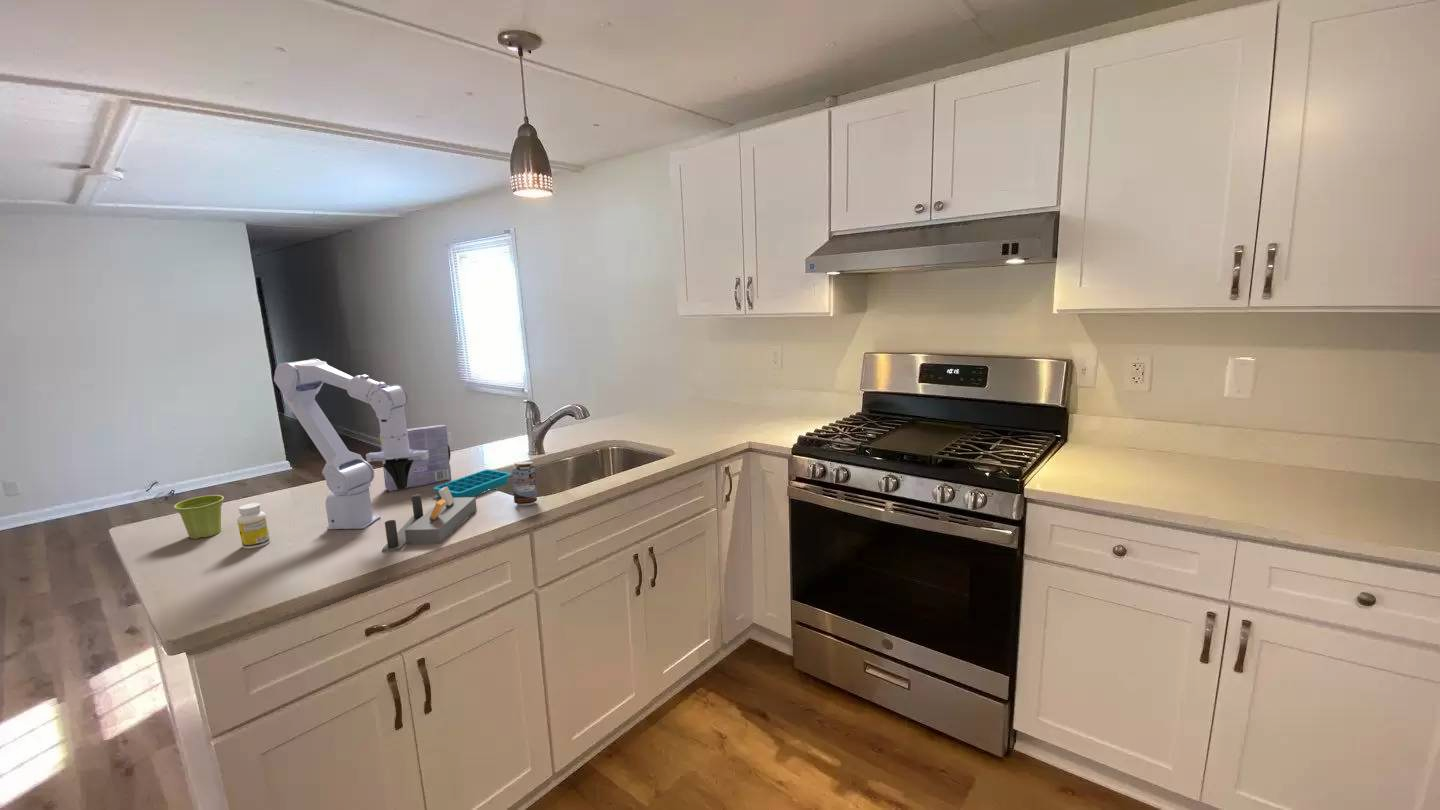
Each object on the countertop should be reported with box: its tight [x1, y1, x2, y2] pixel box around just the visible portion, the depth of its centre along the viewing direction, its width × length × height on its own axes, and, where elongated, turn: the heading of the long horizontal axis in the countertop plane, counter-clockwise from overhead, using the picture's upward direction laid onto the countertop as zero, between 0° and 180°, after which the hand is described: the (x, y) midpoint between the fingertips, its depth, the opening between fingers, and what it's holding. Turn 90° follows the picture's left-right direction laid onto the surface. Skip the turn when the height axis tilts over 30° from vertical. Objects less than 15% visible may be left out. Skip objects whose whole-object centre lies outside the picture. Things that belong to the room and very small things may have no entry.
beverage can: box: [512, 461, 538, 506], centre depth 166 cm, size 6×7×12 cm
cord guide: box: [381, 493, 424, 553], centre depth 147 cm, size 4×21×7 cm, turn 9°
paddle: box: [439, 486, 454, 508], centre depth 156 cm, size 1×3×5 cm, turn 0°
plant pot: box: [173, 494, 225, 540], centre depth 149 cm, size 9×9×9 cm
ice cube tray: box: [433, 469, 513, 498], centre depth 180 cm, size 12×20×3 cm, turn 152°
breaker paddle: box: [429, 498, 446, 521], centre depth 147 cm, size 1×3×5 cm, turn 2°
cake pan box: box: [379, 424, 452, 492], centre depth 185 cm, size 19×5×18 cm, turn 130°
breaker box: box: [405, 496, 478, 545], centre depth 152 cm, size 8×22×4 cm, turn 0°
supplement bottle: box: [236, 502, 271, 550], centre depth 142 cm, size 5×5×10 cm
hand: (402, 488), depth 150 cm, fingers closed
